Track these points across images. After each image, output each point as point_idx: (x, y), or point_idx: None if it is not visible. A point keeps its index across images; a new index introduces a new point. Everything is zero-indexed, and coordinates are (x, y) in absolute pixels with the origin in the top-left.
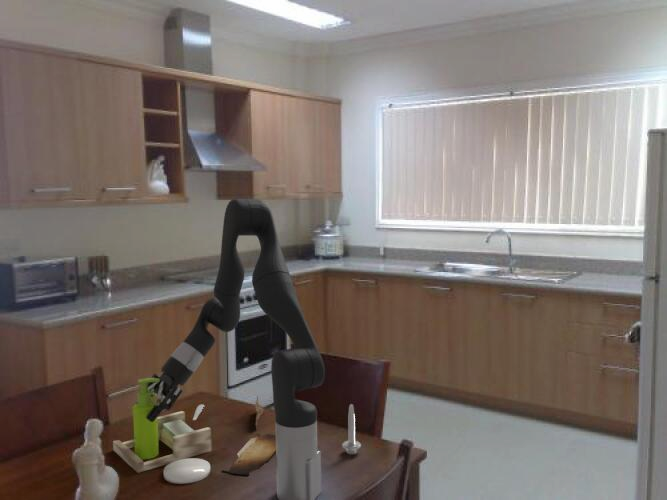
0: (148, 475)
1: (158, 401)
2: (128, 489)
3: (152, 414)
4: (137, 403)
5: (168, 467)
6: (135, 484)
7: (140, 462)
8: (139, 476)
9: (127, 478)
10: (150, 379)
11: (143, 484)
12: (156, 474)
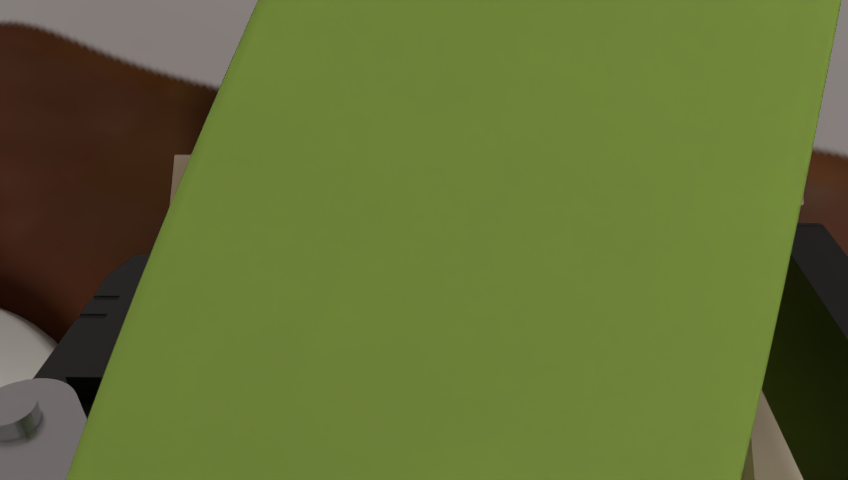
0: (112, 229)
1: (20, 450)
2: (23, 47)
3: (107, 292)
4: (819, 271)
5: (19, 369)
6: (53, 106)
7: (172, 180)
8: (146, 172)
9: (180, 95)
10: (195, 360)
11: (12, 148)
12: (83, 282)
